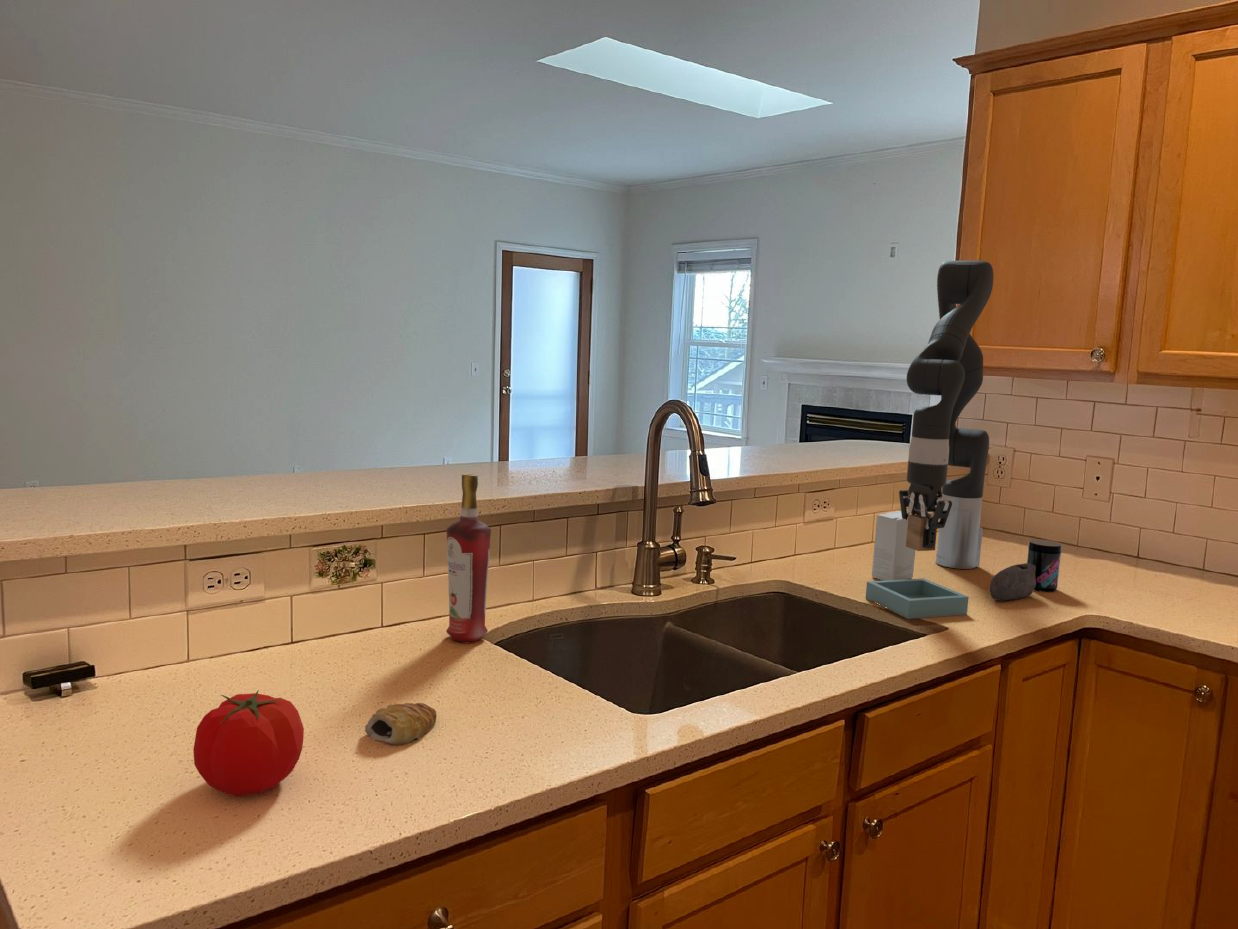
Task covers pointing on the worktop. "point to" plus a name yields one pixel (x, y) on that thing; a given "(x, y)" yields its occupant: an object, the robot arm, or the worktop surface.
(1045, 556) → the supplement container
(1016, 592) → the perforated stone tool
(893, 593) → the tray
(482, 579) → the liquor
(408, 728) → the pastry
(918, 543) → the walnut block
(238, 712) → the tomato
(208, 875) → the worktop surface
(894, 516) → the skincare box
